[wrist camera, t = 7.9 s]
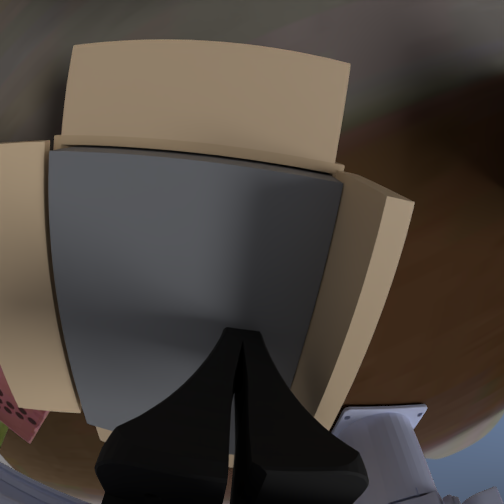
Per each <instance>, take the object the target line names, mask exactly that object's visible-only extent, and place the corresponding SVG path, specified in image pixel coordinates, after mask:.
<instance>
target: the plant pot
mask: <svg viewBox="0 0 504 504" xmlns="http://www.w3.org/2000/svg"><path fill="white" fill-rule="evenodd" d="M8 428H9V427H8V426H6V425H5V424H4V423H3V422H1V421H0V447H1V445H2V442H3V440H4V437H5V435H6V433H7V430H8Z"/></svg>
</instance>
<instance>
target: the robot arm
mask: <svg viewBox="0 0 504 504" xmlns="http://www.w3.org/2000/svg"><path fill="white" fill-rule="evenodd" d="M233 396H234V410H235V453H234V465H233V476H232V487H231V497H230V504H461V503H460V501H459V498H458V497H455V496H451V495H447V496H445V497H444V498H443V500H442V499H441V497H440V495H439V493H438V492H437V489H436V487H435V484H434V481H433V478H432V476H431V473H430V471H429V468H428V466H427V463H426V460H425V457H424V455H423V452H422V450H421V447H420V445H419V442H418V440H417V437H416V435H415V433H414V430H413V429H414V428H415V426H416V425H417V424H418V422H419V421H420V419H421V418H422V416H423V415H424V413H425V412H426V410H427V406H426V405H425V404H417V405H401V406H373V407H347V408H345V409H344V410H343V411H342V413H341V415H340V417H339V419H338V421H337V423H336V425H335V426H334V428H333V430H332V432H330V431H328V430H327V429H326V428H325V427H324V426H322V425H321V424H320V423H319V422H318V421H317V420H316V419H315V418H314V417H313V416H312V415H311V414H310V413H309V412H308V411H307V410H306V409H305V408H304V406H303V405H302V404H301V403H300V402H299V400H298V399H297V398H296V397H295V395H294V394H293V393H292V391H291V390H290V389H289V387H288V386H287V384H286V383H285V381H284V379H283V378H282V376H281V375H280V373H279V371H278V369H277V368H276V366H275V364H274V362H273V360H272V358H271V356H270V354H269V352H268V349H267V347H266V345H265V342H264V339H263V336H262V334H261V333H260V331H253V330H245V329H237V328H230V327H226V328H224V329H223V332H222V334H221V336H220V338H219V340H218V342H217V344H216V345H215V347H214V348H213V350H212V351H211V353H210V354H209V355H208V357H207V358H206V360H205V361H204V362H203V363H202V364H201V366H200V367H199V368H198V369H197V370H196V371H195V373H194V374H193V375H192V376H191V377H190V378H189V379H188V380H187V381H186V382H185V383H184V384H183V385H182V386H180V387H179V388H178V389H177V390H176V391H175V392H173V393H172V394H171V395H170V396H168V397H167V398H166V399H165V400H163V401H162V402H160V403H159V404H157V405H156V406H154V407H153V408H151V409H149V410H148V411H146V412H145V413H143V414H141V415H139V416H138V417H136V418H134V419H132V420H130V421H127V422H125V423H123V424H121V425H119V426H117V427H115V429H114V430H113V431H112V433H111V434H110V436H109V437H108V439H107V440H106V442H105V444H104V445H103V447H102V449H101V452H100V454H99V457H98V459H97V462H96V465H95V467H94V468H95V472H96V475H97V477H98V479H99V481H100V483H101V485H102V487H103V489H104V491H105V494H104V497H103V500H102V503H101V504H222V503H223V499H224V494H225V489H226V485H227V478H228V466H229V441H230V421H231V405H232V400H233ZM0 504H91V503H88V502H85V501H83V500H80V499H77V498H75V497H72V496H70V495H67V494H65V493H62V492H60V491H57V490H55V489H53V488H51V487H48V486H46V485H44V484H42V483H40V482H38V481H35V480H33V479H31V478H29V477H27V476H25V475H23V474H21V473H20V472H18V471H16V470H14V469H12V468H10V467H8V466H7V465H4V464H3V463H1V462H0ZM462 504H504V503H503V501H502V499H501V496H500V494H499V492H498V490H497V487H492V488H490V489H487V490H484V491H482V492H479V493H477V494H475V495H473V496H471V497H469V498H468V499H467V500H465V501H464V502H463V503H462Z"/></svg>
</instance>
